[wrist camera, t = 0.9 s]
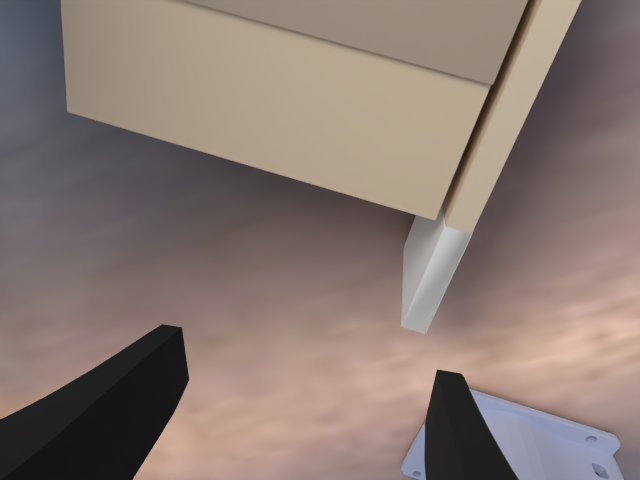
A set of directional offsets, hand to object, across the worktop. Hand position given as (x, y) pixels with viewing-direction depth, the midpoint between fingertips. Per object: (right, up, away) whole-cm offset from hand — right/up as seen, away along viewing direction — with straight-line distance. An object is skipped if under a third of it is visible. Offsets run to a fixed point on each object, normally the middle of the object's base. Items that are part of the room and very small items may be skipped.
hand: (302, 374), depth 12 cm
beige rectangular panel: (+6, +9, +4) cm, 12 cm away
